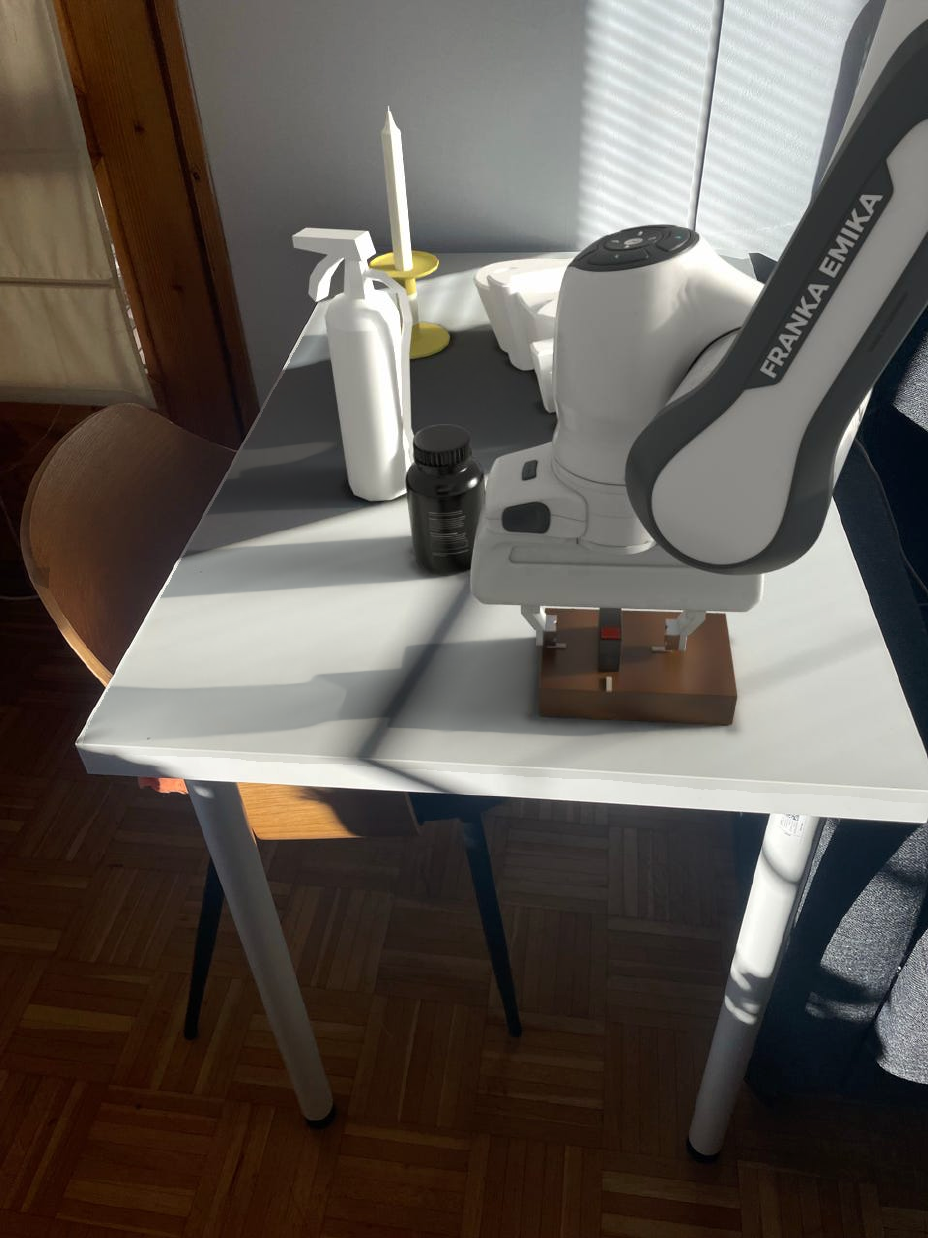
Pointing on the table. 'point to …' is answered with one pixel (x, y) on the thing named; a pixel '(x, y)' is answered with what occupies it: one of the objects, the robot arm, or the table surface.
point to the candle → (406, 248)
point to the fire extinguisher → (366, 362)
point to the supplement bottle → (444, 498)
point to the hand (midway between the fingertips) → (609, 642)
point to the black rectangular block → (609, 639)
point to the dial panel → (638, 671)
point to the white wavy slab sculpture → (525, 313)
